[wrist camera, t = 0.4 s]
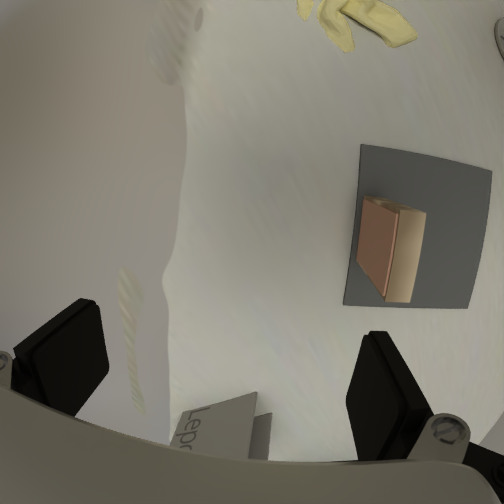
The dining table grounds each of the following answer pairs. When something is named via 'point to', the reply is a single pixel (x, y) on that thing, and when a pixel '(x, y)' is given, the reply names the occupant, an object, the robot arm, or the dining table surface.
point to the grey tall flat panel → (226, 429)
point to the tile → (390, 246)
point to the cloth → (364, 11)
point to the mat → (426, 224)
